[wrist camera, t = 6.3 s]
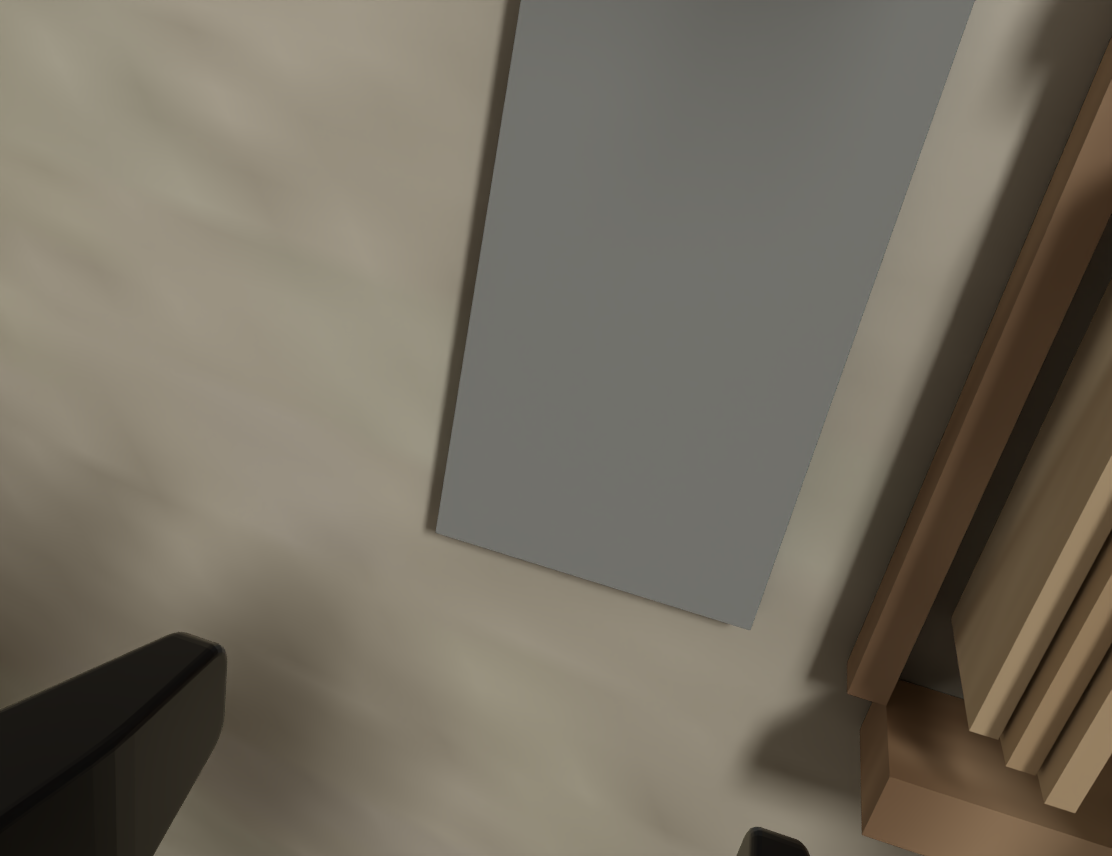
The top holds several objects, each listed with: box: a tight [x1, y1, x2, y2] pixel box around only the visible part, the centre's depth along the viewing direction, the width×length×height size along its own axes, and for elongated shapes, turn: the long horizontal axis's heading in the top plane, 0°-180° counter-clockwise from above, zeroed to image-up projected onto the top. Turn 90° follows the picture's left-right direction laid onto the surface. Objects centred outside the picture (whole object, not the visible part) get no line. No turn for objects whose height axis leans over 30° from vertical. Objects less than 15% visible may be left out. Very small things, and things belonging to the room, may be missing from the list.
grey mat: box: [436, 0, 975, 630], centre depth 19 cm, size 7×13×1 cm, turn 169°
